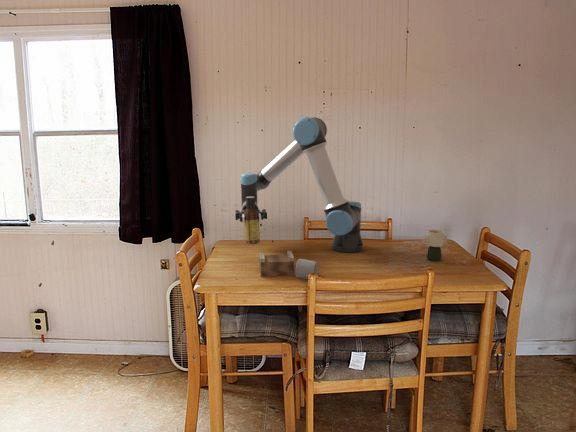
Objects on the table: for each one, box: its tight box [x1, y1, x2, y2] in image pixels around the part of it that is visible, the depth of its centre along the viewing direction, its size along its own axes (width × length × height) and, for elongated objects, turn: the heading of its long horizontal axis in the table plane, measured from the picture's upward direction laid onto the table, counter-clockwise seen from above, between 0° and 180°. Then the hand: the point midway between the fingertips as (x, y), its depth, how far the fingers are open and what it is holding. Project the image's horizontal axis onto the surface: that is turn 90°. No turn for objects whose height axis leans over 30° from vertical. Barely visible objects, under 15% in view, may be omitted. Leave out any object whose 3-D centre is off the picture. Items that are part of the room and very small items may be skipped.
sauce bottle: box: [243, 196, 261, 245], centre depth 205 cm, size 7×6×20 cm
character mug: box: [422, 229, 448, 261], centre depth 214 cm, size 11×7×13 cm, turn 98°
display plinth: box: [259, 250, 295, 278], centre depth 196 cm, size 13×10×8 cm
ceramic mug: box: [294, 258, 320, 280], centre depth 191 cm, size 11×8×8 cm
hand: (251, 220), depth 200 cm, fingers closed on sauce bottle, 6 cm apart
